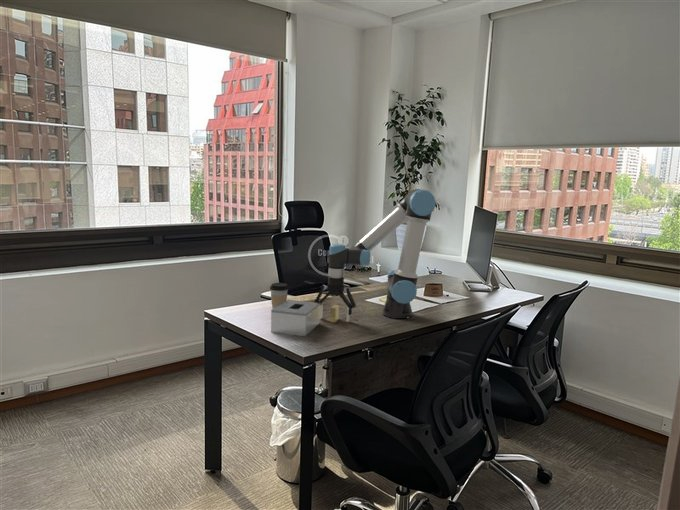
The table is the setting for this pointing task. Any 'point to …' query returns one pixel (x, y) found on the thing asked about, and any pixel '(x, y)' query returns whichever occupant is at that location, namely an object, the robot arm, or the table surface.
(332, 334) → the table surface
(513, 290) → the table surface
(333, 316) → the token
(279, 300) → the coffee cup
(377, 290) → the table surface
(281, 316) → the box
